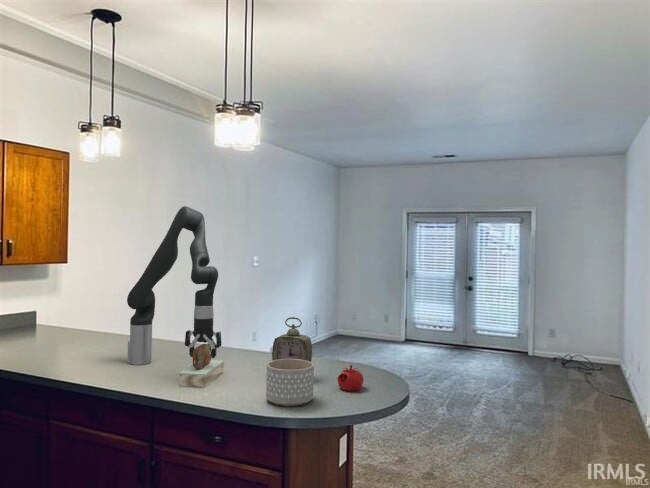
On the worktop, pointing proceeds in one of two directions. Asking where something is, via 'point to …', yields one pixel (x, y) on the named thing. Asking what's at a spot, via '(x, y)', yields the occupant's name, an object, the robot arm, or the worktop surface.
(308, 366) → the planter
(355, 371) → the pomegranate
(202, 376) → the plinth
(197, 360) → the tin
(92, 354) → the worktop surface
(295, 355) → the tabletop clock
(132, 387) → the worktop surface
